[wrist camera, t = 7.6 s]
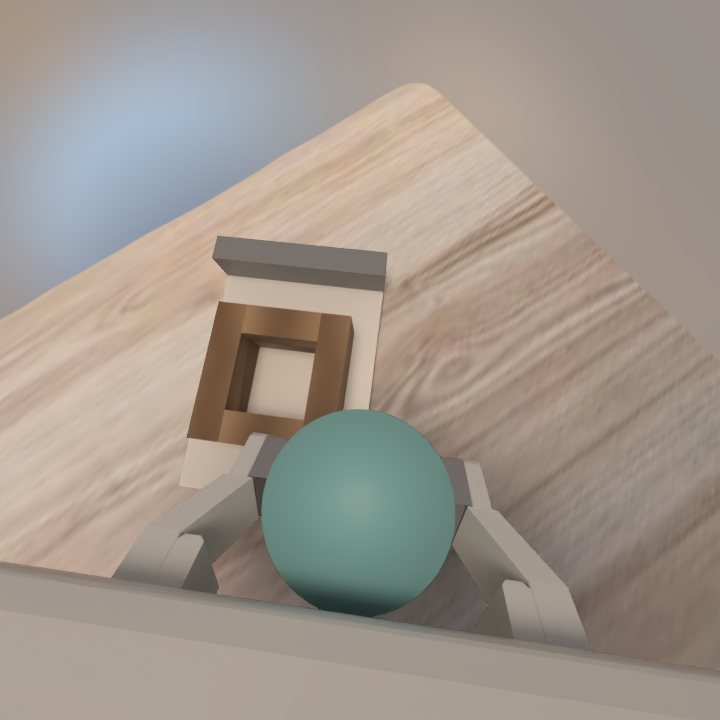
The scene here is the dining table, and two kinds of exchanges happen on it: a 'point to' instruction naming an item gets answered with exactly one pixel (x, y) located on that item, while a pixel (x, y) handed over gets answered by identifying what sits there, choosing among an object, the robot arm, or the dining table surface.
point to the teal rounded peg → (358, 513)
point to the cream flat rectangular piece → (297, 292)
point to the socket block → (238, 361)
